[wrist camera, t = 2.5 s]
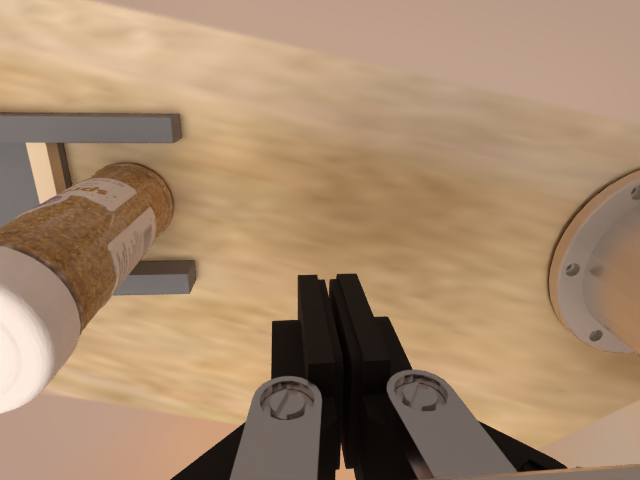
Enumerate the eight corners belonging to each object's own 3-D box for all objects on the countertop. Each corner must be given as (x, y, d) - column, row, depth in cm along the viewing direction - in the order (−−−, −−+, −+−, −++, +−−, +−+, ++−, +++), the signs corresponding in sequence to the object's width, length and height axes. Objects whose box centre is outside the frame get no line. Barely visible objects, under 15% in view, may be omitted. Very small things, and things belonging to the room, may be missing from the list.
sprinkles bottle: (125, 143, 22) (-89, 233, 9) (192, 204, 23) (86, 352, 11) (70, 202, 23) (-190, 356, 10) (139, 257, 24) (-17, 450, 12)
